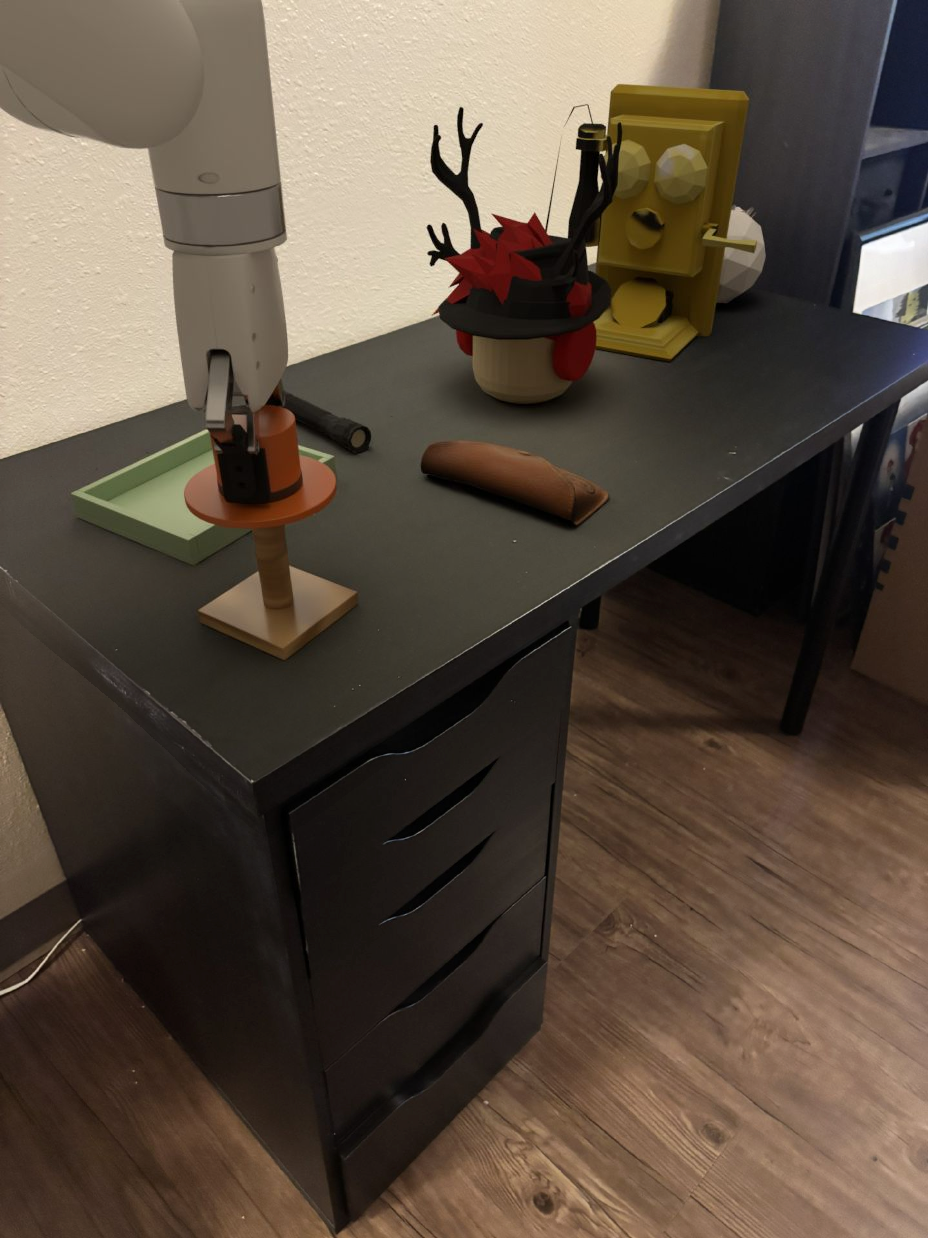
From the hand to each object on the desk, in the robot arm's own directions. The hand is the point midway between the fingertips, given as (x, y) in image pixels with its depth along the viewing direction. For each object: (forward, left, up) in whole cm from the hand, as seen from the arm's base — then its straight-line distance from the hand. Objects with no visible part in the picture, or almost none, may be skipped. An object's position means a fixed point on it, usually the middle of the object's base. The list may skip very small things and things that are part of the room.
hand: (259, 477), depth 66 cm
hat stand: (0, 0, -12) cm, 12 cm away
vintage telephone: (+77, +5, -12) cm, 78 cm away
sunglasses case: (+29, -5, -12) cm, 32 cm away
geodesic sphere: (+100, +1, -12) cm, 101 cm away
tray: (+11, +19, -12) cm, 25 cm away
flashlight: (+29, +21, -12) cm, 38 cm away
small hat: (0, 0, -1) cm, 1 cm away
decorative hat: (+51, +7, -12) cm, 53 cm away
